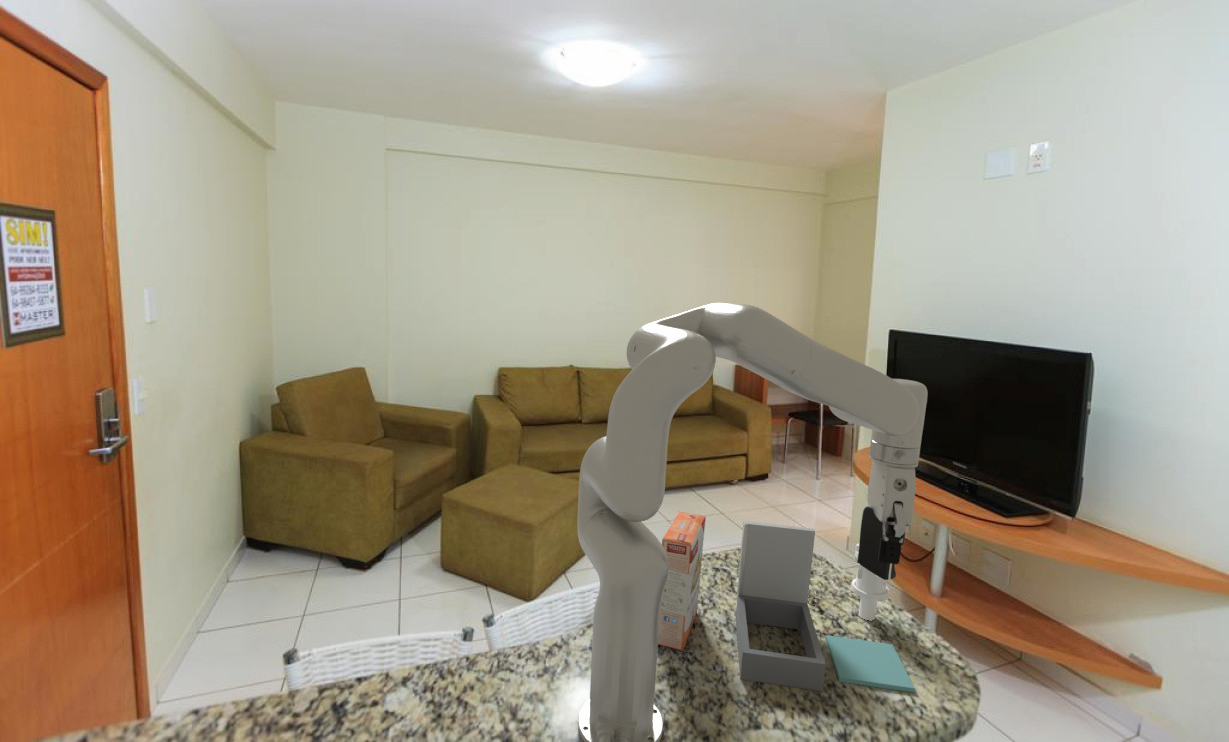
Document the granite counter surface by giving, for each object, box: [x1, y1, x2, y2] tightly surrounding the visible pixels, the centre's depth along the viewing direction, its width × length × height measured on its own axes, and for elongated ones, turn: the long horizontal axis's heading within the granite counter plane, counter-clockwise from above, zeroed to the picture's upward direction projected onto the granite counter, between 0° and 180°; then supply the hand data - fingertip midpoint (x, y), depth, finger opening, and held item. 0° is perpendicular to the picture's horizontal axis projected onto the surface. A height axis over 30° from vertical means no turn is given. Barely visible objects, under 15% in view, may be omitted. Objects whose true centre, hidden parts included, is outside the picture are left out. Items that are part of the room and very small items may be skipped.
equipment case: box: [735, 520, 827, 692], centre depth 104 cm, size 20×13×20 cm
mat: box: [825, 634, 916, 694], centre depth 103 cm, size 12×12×1 cm
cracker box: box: [658, 511, 707, 652], centre depth 109 cm, size 14×6×21 cm, turn 161°
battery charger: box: [856, 505, 906, 581], centre depth 99 cm, size 7×4×11 cm, turn 20°
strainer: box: [850, 543, 890, 622], centre depth 117 cm, size 7×7×15 cm
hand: (881, 550), depth 99 cm, fingers closed on battery charger, 7 cm apart
